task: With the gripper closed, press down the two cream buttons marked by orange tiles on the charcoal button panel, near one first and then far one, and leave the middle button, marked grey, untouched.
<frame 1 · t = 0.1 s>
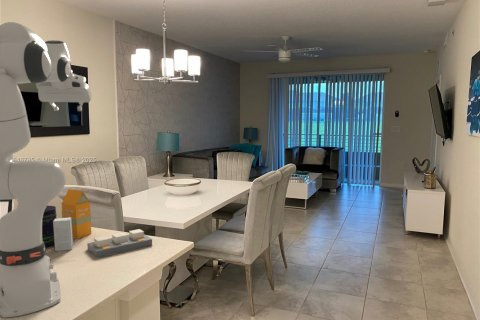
hand: (68, 110, 156), 54 cm above the kitchen counter, tool tilted 30°, fingers open, 8 cm apart
near button: (101, 241, 140), point 4 cm above the kitchen counter, slide at 0.0 cm
button panel: (120, 247, 145), on the kitchen counter
far button: (136, 234, 149), point 4 cm above the kitchen counter, slide at 0.0 cm
dark blue cylinder: (44, 245, 147), on the kitchen counter
middle button: (119, 238, 145), point 4 cm above the kitchen counter, slide at 0.0 cm
orange juice: (77, 235, 160), on the kitchen counter
skincare box: (64, 249, 143), on the kitchen counter
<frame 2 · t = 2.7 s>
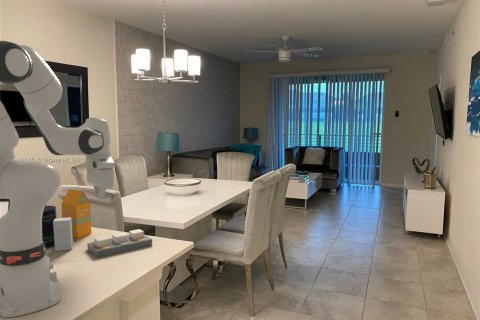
hand: (99, 197, 138), 21 cm above the kitchen counter, tool pointing down, fingers open, 3 cm apart
nothing on the kitchen counter moved.
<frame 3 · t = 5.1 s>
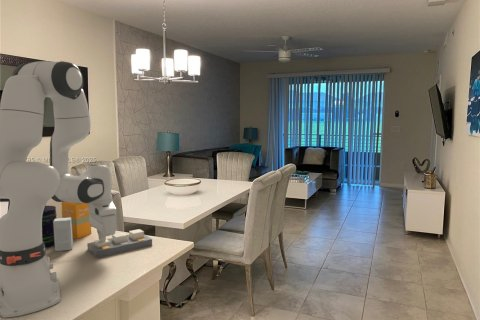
hand: (102, 240, 141), 4 cm above the kitchen counter, tool pointing down, fingers closed, pressing on near button
near button: (102, 244, 140), point 2 cm above the kitchen counter, slide at 1.1 cm, touching gripper
everything else where it was.
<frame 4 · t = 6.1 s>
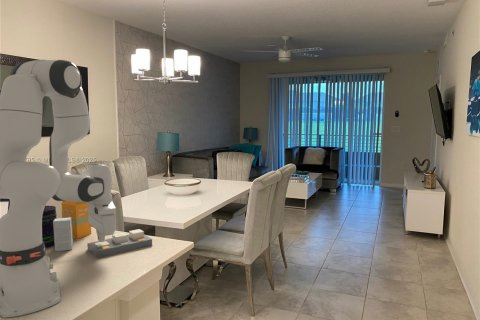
hand: (101, 241, 140), 4 cm above the kitchen counter, tool pointing down, fingers closed
near button: (102, 247, 141), point 1 cm above the kitchen counter, slide at 2.1 cm
everything else where it was.
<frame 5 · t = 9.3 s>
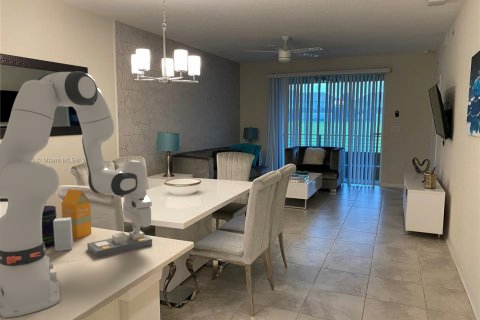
hand: (136, 232, 149), 4 cm above the kitchen counter, tool pointing down, fingers closed, pressing on far button
far button: (136, 235, 149), point 3 cm above the kitchen counter, slide at 0.6 cm, touching gripper
everything else where it was.
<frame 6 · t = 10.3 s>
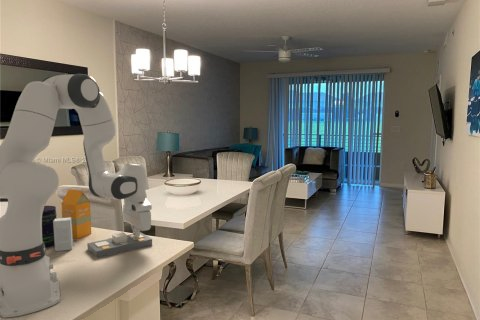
hand: (136, 235, 149), 3 cm above the kitchen counter, tool pointing down, fingers closed
far button: (136, 239, 149), point 1 cm above the kitchen counter, slide at 2.1 cm
everything else where it was.
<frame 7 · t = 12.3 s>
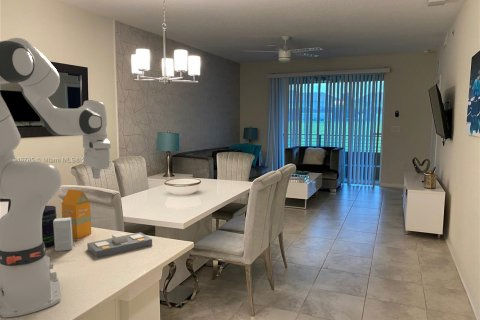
hand: (96, 178, 142), 28 cm above the kitchen counter, tool pointing down, fingers closed
nothing on the kitchen counter moved.
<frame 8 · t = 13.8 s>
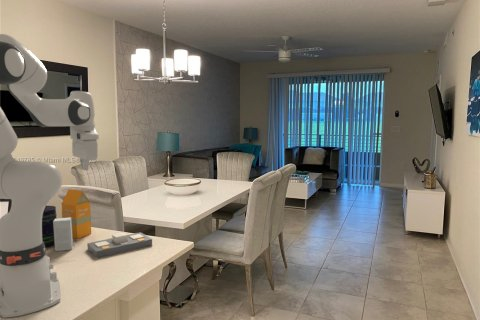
hand: (84, 169, 141), 31 cm above the kitchen counter, tool pointing down, fingers closed
nothing on the kitchen counter moved.
at the end: near button slide at 2.1 cm; far button slide at 2.1 cm; middle button slide at 0.0 cm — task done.
